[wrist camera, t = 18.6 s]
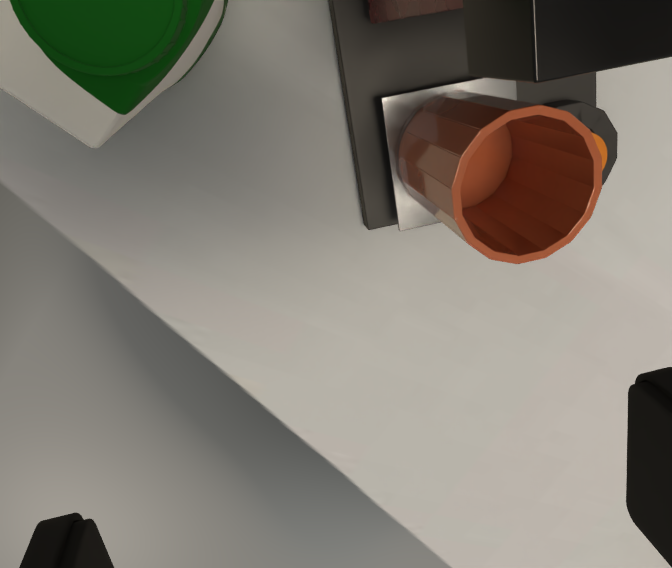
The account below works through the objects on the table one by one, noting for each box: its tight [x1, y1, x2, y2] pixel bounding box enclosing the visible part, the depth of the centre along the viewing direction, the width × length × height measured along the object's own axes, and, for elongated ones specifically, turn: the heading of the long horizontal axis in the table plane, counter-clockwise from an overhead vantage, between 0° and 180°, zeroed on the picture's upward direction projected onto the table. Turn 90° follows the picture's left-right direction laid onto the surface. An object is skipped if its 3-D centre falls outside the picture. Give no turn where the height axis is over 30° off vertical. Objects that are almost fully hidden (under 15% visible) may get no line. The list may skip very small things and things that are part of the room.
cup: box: [399, 92, 602, 264], centre depth 30 cm, size 7×7×9 cm
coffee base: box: [329, 0, 617, 230], centre depth 35 cm, size 15×16×3 cm
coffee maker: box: [368, 0, 672, 231], centre depth 25 cm, size 16×12×19 cm
